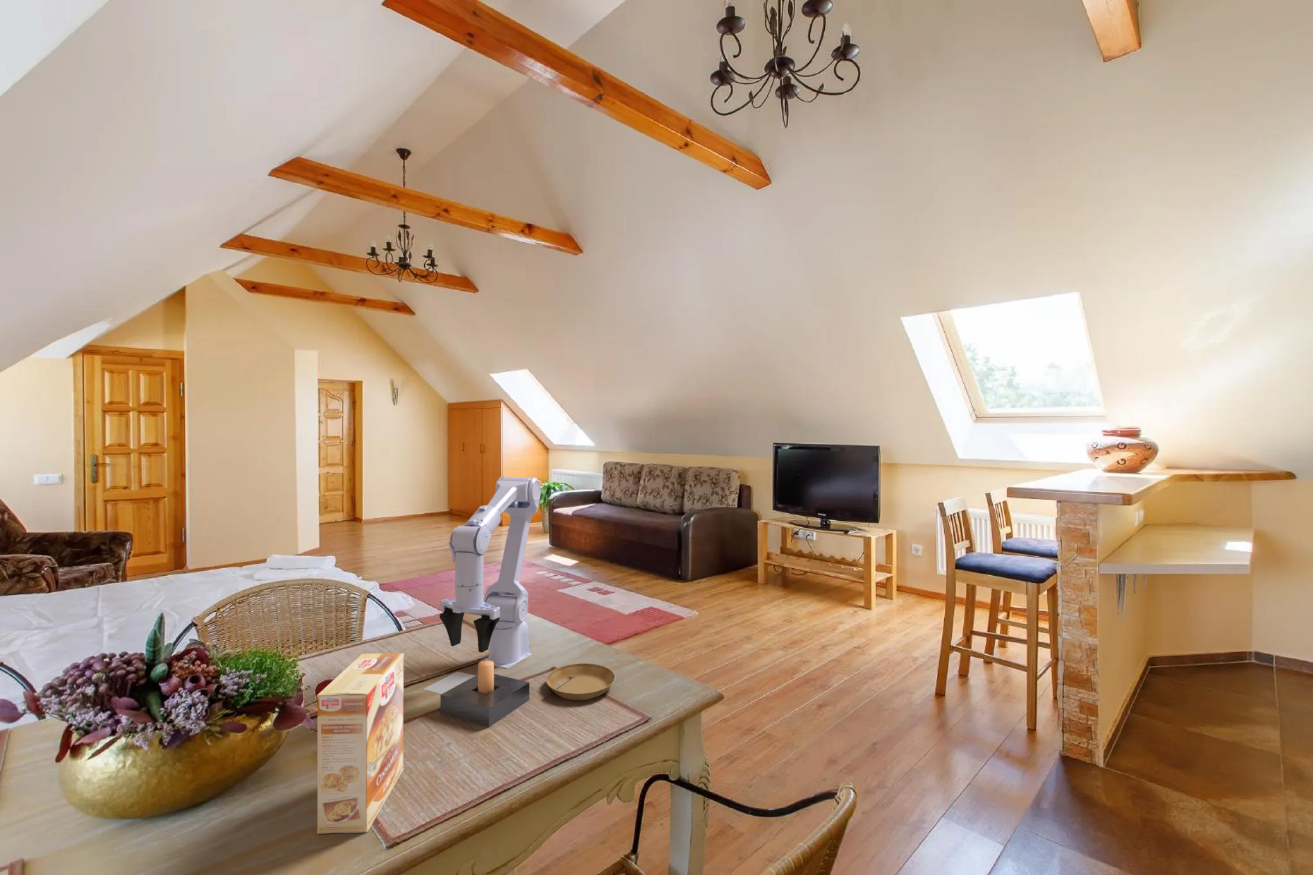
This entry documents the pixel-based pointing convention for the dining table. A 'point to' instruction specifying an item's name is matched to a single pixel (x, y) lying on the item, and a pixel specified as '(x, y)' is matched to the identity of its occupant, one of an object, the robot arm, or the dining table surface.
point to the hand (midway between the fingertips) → (469, 647)
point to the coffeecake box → (359, 742)
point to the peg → (486, 677)
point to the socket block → (484, 700)
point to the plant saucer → (581, 680)
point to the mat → (449, 682)
